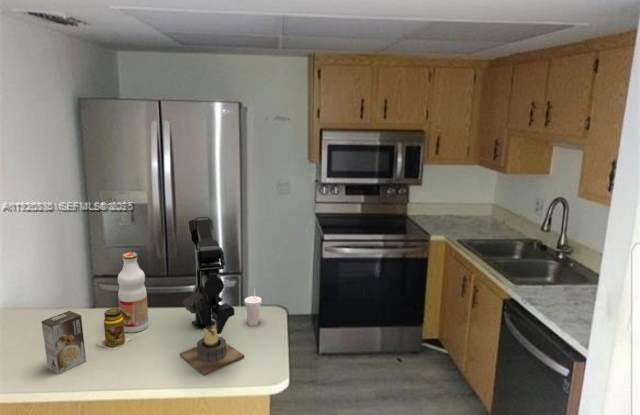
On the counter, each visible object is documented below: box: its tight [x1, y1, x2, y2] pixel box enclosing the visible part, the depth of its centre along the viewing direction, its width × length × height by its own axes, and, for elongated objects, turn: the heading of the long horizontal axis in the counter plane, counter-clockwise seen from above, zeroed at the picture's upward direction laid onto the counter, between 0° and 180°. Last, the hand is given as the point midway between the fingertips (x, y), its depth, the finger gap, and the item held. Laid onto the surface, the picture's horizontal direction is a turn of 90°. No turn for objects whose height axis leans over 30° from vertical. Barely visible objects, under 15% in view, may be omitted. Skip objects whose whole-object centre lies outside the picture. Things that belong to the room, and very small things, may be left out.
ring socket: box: [179, 336, 245, 376], centre depth 155 cm, size 15×15×5 cm
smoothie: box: [244, 288, 263, 327], centre depth 177 cm, size 6×6×14 cm
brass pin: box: [203, 325, 219, 348], centre depth 154 cm, size 4×4×9 cm
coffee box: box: [41, 310, 87, 375], centre depth 147 cm, size 9×6×16 cm
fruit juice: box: [117, 251, 149, 334], centre depth 171 cm, size 9×9×28 cm
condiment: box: [96, 307, 132, 351], centre depth 161 cm, size 7×8×12 cm
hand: (211, 328), depth 153 cm, fingers open, 9 cm apart
